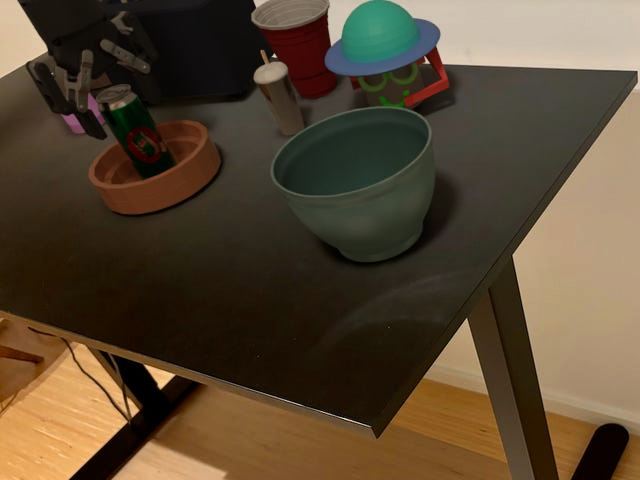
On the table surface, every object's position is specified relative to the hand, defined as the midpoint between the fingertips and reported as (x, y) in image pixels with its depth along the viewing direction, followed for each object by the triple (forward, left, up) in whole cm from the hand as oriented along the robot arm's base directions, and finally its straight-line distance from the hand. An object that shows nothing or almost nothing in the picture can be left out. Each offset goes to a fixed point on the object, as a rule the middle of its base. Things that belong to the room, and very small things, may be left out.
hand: (128, 119), depth 89 cm
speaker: (+22, +17, -9) cm, 29 cm away
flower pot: (+1, -37, -9) cm, 38 cm away
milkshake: (+16, -9, -9) cm, 21 cm away
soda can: (0, 0, -9) cm, 9 cm away
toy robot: (+24, -22, -9) cm, 34 cm away
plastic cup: (+26, -5, -9) cm, 28 cm away
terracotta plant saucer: (0, 0, -9) cm, 9 cm away
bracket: (+9, +32, -9) cm, 35 cm away
